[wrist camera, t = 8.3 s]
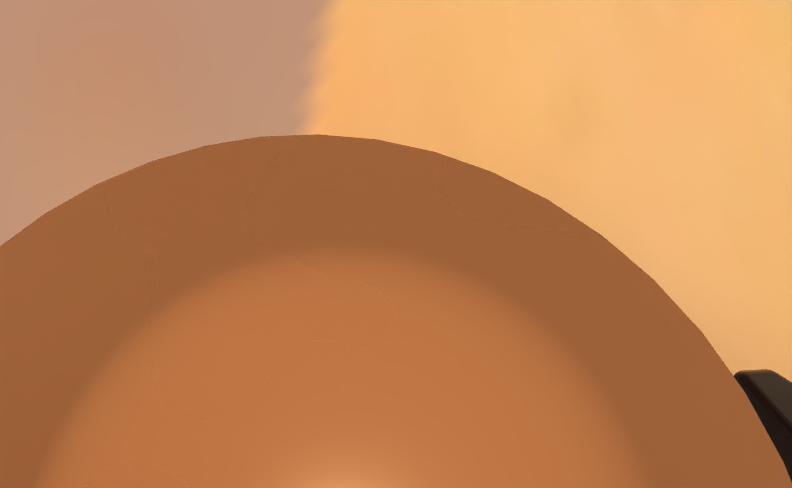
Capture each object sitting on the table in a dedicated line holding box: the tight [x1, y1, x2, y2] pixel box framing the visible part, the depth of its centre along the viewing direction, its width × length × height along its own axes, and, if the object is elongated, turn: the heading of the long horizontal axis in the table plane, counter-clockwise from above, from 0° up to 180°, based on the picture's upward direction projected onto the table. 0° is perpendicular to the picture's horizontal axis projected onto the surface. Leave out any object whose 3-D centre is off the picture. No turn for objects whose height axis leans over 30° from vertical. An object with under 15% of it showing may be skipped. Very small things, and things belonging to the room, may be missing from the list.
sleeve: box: [0, 135, 792, 488], centre depth 9 cm, size 6×6×13 cm
